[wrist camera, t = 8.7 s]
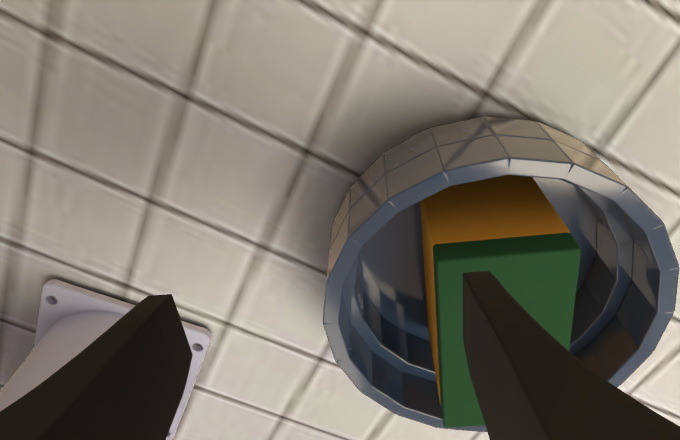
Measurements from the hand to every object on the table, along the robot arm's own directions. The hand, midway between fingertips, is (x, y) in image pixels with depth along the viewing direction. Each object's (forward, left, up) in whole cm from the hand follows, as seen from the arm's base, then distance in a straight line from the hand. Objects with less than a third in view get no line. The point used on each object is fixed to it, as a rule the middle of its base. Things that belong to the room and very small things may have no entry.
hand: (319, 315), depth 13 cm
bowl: (-1, -7, -9) cm, 11 cm away
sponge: (-1, -7, -8) cm, 11 cm away
